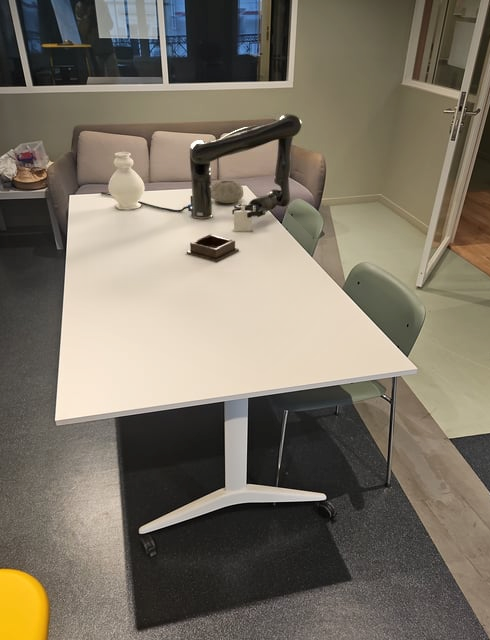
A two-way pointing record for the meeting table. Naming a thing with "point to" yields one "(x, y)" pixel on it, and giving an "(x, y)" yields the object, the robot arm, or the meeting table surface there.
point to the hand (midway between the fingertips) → (240, 213)
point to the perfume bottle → (242, 220)
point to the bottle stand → (212, 248)
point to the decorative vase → (126, 183)
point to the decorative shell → (227, 191)
